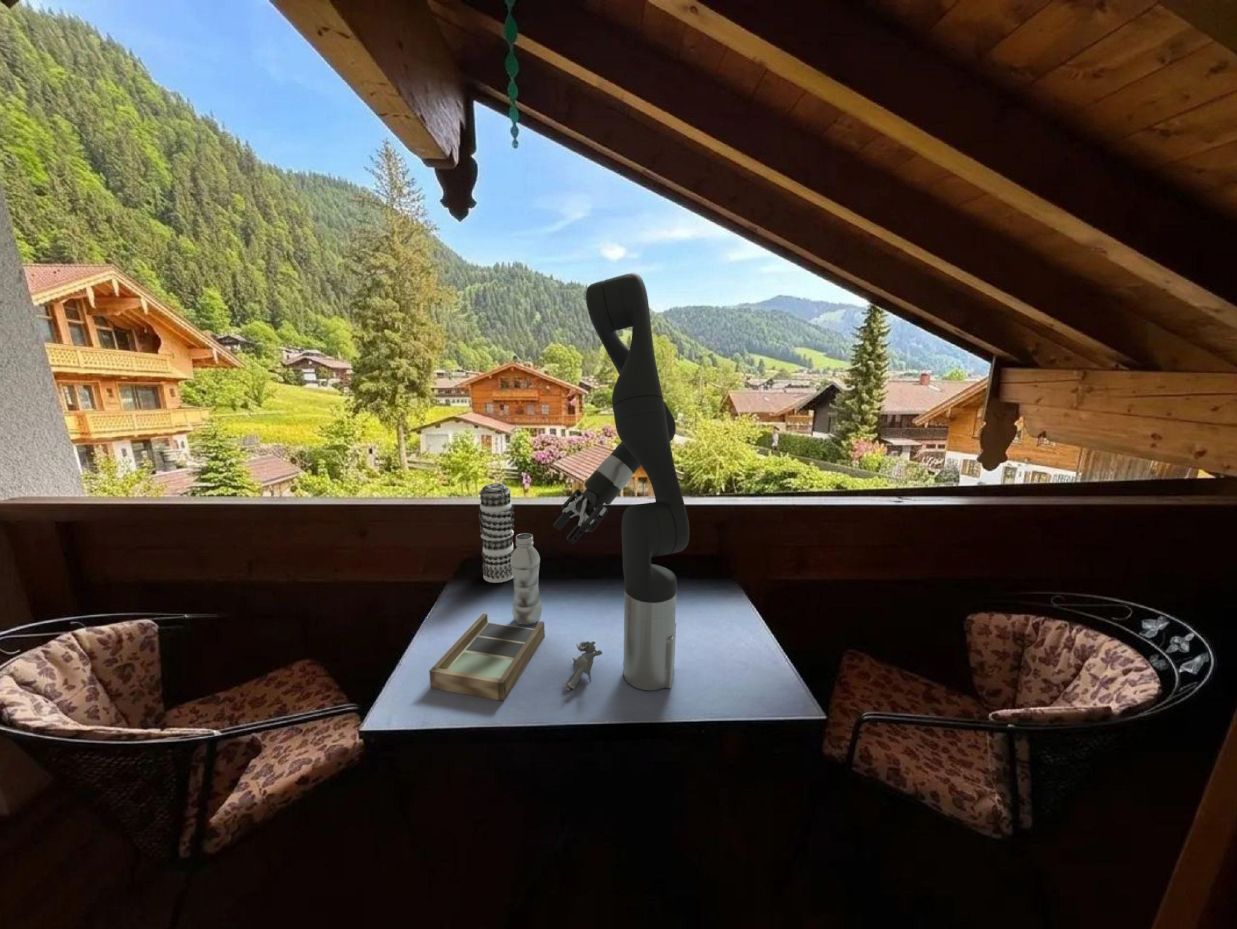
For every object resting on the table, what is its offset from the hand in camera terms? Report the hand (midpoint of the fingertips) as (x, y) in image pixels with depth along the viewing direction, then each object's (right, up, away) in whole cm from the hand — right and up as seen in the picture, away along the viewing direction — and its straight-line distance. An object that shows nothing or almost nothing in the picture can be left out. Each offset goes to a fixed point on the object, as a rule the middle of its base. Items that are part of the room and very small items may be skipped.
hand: (562, 534), depth 102 cm
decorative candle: (-19, -14, +21) cm, 32 cm away
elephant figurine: (+6, -24, -18) cm, 30 cm away
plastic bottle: (-8, -19, 0) cm, 21 cm away
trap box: (-12, -22, -13) cm, 28 cm away
